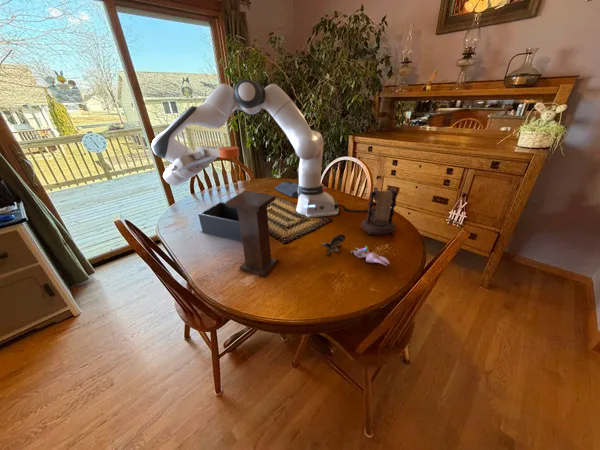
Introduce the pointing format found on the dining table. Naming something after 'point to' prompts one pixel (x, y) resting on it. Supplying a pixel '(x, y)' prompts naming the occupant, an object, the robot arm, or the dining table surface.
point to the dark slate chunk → (288, 188)
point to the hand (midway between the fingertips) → (209, 149)
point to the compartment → (221, 221)
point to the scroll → (381, 213)
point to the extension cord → (220, 151)
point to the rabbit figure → (370, 256)
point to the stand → (254, 231)
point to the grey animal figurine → (334, 243)
